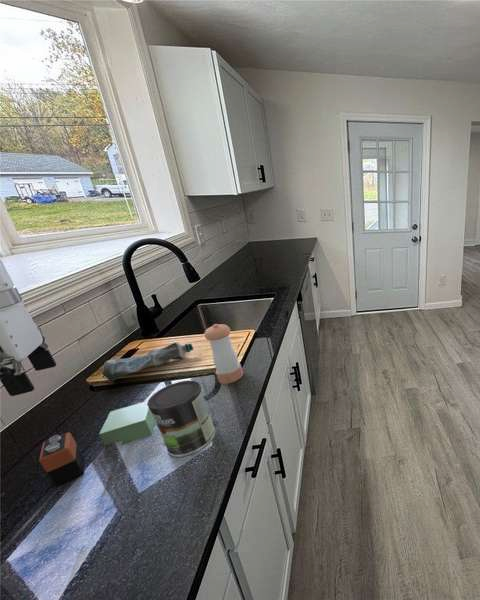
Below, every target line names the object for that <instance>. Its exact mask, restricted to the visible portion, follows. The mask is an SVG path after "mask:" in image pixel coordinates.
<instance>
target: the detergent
mask: <svg viewBox="0 0 480 600" xmlns="http://www.w3.org/2000/svg"><path fill="white" fill-rule="evenodd" d="M191 351H194V347H193V344H192V343H185V344H184V345H182V344H181V343H180V342H178V341H177V342H172V343H170V344H168V345H167V346H164V347H163V348H159V349H153V350H150V351H149V352H147V354H145V355H140V356H133V357H132V356H131V357H126V358H117V359H108V360H106V361H104V363H103V371H102V375H103V376H104V377H105V378H106V379H107V380H108V381H109V382H111V383H112V382H115V381H116V380H117V379H120V378H122V377H125V376H127V375H130V374H133V373H136V372H139V371H141V370H144V369H146V368H149V367H153V366H159V365H163V364H165V363H167V362H168V361H170V360H171V361H172V360H173V361H175V360H176V361H178V360H177V359H182V360H183V359H184V358H185V355H186V354H187V353H190V352H191Z"/></svg>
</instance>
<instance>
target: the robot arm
mask: <svg viewBox="0 0 480 600" xmlns="http://www.w3.org/2000/svg"><path fill="white" fill-rule="evenodd" d="M24 303H25V301H24V300H23V298H22V296H21V294H20V292H19V290H18V289H17V287H16V285H15V283H14V281H13V279H12V278H11V276H10V274H9V272H8V270H7V268H6V267H5V265H4V263H3V261H2V259H1V258H0V383H1V384H2V386H3V387H4V389H5V391H6V392H7V393H8V395H9V397H15V396H19V395H23V394H27V393H31V392H33V391H34V390H35V386H34V385H33V382H32V381H31V378H29V375H27V373H26V371H22V361H23V360H25V359H26V358H28V360H29V362H30V363H31V365H32V367H33V369H34V371H36V372H39V371H42V370H48V369H51V368H55V367H57V363H56V361H55V359H54V357H53V355H52V353H51V351H50V350H49V345H48V344H47V343H45V340H46V338H45V336H44V335H43V332H42V328H41V327H40V326H39V325H37V324H36V322H35V321H34V319H33V317H32V316H31V314H30V312H28V310H27V308H26V307H25V305H24ZM10 365H11V366H12V368H11V367H8V366H10Z"/></svg>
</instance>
